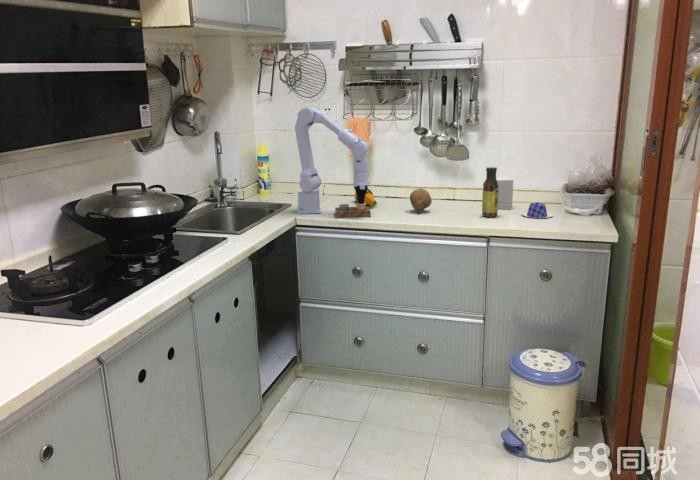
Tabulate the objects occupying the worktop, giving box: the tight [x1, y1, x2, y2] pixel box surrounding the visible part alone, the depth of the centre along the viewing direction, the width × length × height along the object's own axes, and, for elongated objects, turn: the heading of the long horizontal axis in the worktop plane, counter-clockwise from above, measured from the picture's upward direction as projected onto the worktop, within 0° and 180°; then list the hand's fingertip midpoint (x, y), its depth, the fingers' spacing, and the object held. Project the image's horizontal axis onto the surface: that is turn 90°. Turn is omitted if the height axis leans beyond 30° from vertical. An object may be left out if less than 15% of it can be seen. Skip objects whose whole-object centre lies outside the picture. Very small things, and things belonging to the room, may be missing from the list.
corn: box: [354, 188, 378, 206], centre depth 264 cm, size 7×8×20 cm
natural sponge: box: [409, 187, 433, 213], centre depth 248 cm, size 9×9×10 cm
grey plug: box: [339, 203, 350, 211], centre depth 244 cm, size 4×4×4 cm
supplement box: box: [496, 176, 514, 210], centre depth 253 cm, size 7×7×13 cm
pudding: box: [521, 202, 553, 219], centre depth 238 cm, size 12×12×5 cm
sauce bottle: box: [481, 166, 499, 218], centre depth 237 cm, size 6×6×20 cm
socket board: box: [334, 206, 372, 219], centre depth 245 cm, size 14×9×2 cm, turn 94°
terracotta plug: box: [355, 202, 367, 210], centre depth 245 cm, size 4×4×4 cm
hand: (361, 203), depth 244 cm, fingers closed, pressing on terracotta plug
